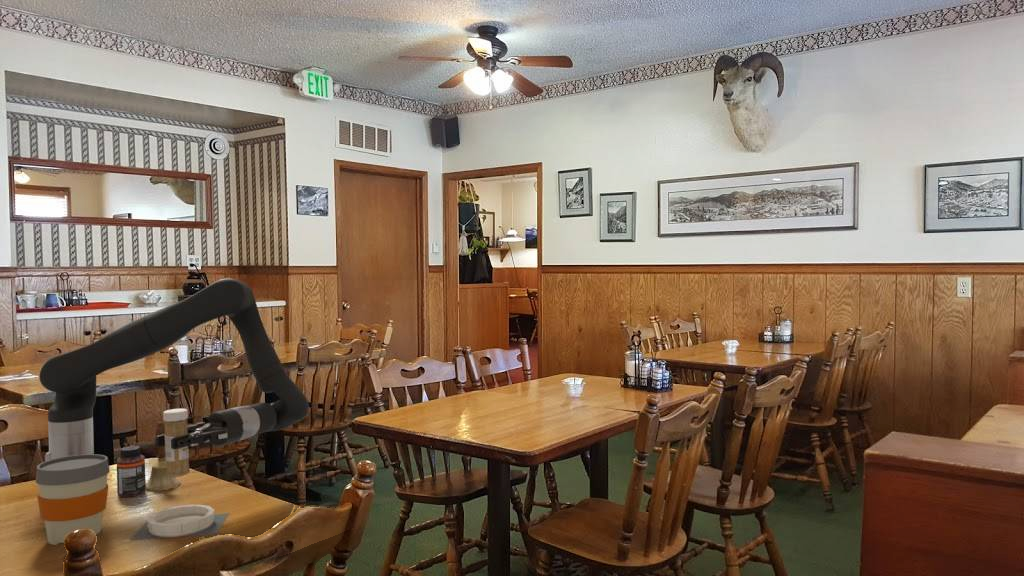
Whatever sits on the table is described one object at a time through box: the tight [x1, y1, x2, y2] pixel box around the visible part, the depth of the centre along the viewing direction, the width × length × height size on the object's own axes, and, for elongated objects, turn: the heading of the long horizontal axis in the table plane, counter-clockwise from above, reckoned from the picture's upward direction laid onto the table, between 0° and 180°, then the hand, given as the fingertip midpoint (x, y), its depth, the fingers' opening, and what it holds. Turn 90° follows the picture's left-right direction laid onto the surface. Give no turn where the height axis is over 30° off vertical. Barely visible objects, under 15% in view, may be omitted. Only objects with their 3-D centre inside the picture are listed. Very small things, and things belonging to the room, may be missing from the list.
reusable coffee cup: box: [35, 453, 111, 546], centre depth 139 cm, size 13×13×15 cm
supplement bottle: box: [116, 445, 147, 499], centre depth 165 cm, size 6×6×11 cm
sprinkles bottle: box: [162, 408, 191, 478], centre depth 145 cm, size 5×5×14 cm
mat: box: [129, 513, 230, 541], centre depth 143 cm, size 16×12×1 cm
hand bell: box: [146, 421, 182, 492], centre depth 172 cm, size 8×8×16 cm
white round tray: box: [146, 503, 215, 538], centre depth 143 cm, size 12×12×2 cm
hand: (164, 442), depth 142 cm, fingers closed on sprinkles bottle, 4 cm apart
